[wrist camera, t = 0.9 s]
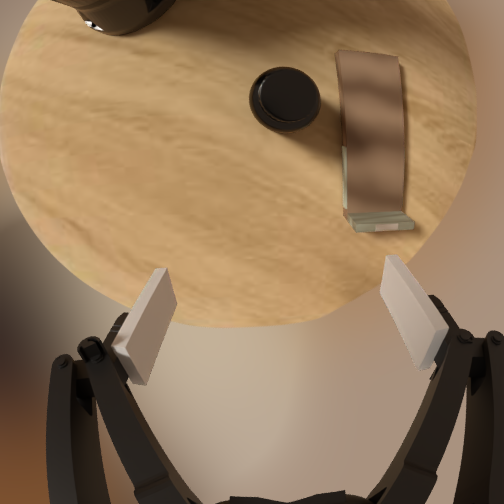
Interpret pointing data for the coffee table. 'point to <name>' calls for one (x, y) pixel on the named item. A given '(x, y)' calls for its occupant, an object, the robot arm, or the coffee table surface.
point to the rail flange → (372, 141)
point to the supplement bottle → (284, 100)
